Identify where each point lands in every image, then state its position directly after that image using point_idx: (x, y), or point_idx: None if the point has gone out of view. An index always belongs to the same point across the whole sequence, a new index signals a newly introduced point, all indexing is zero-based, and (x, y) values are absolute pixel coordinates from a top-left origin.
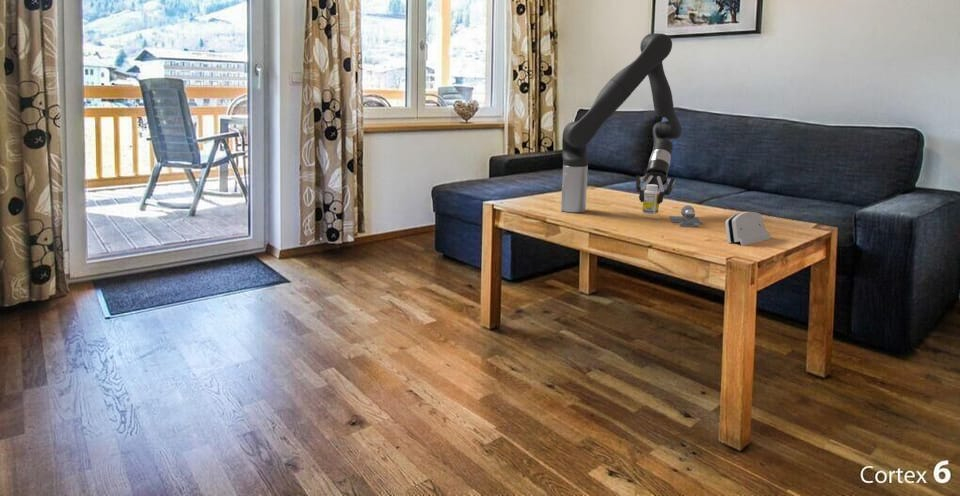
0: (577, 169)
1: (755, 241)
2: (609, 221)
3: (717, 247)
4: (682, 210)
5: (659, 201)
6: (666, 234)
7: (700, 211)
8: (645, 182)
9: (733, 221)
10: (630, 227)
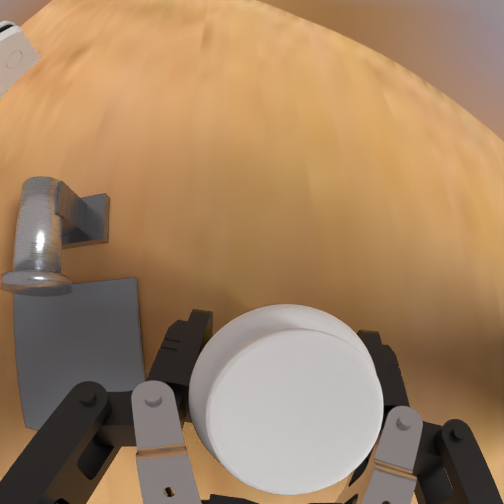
0: None
1: None
2: (447, 212)
3: (85, 16)
4: (57, 275)
5: (197, 310)
6: (189, 60)
7: None
8: (407, 498)
9: (11, 22)
10: (338, 118)
